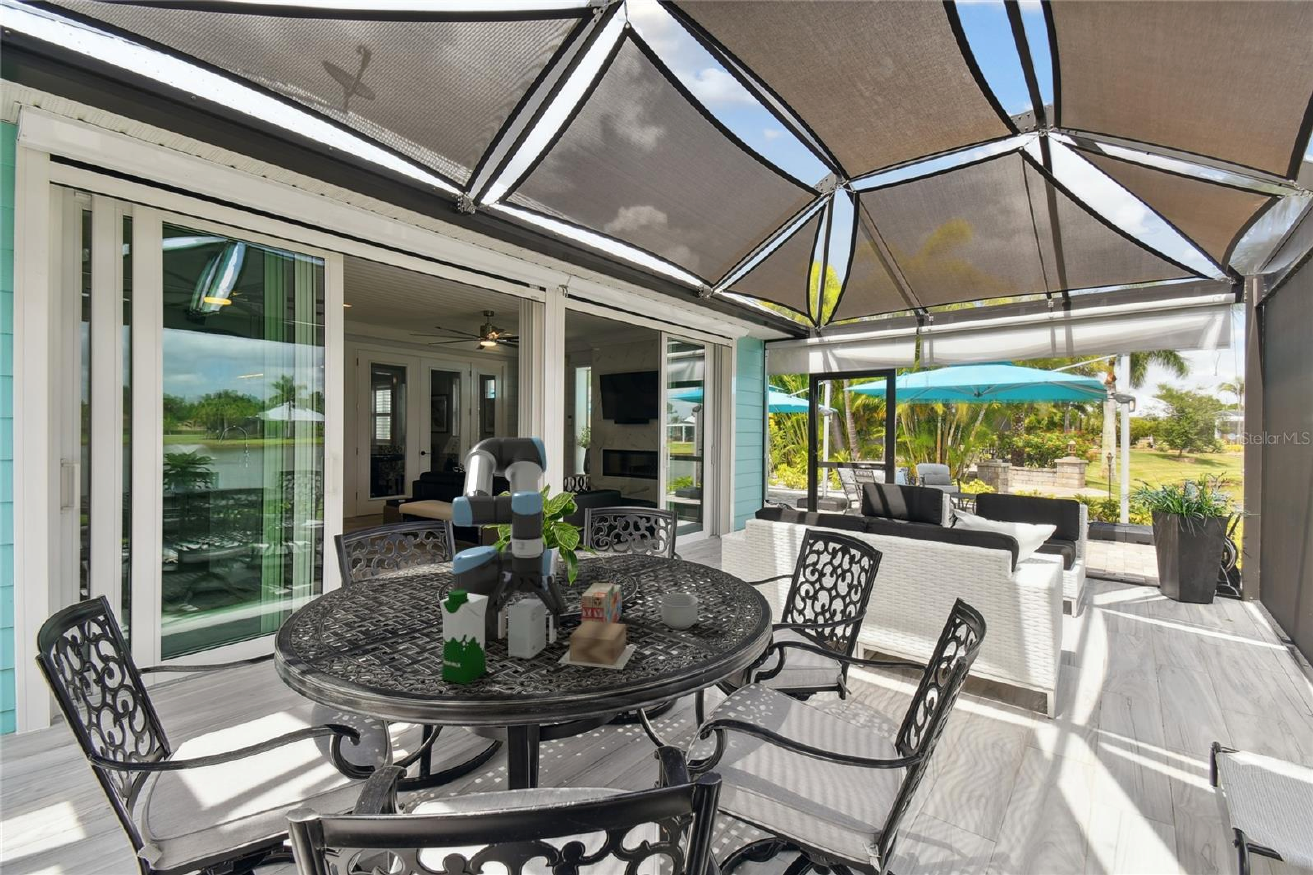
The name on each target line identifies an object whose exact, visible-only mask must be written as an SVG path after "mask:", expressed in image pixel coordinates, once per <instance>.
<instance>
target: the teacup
mask: <svg viewBox="0 0 1313 875" xmlns="http://www.w3.org/2000/svg"><path fill="white" fill-rule="evenodd" d="M658 600H659V601H660V606H659V604H658ZM652 605H653V607H654V609H655V610H656V611H657V612H658V613H659V614H660V615H661V620H662V622H663V623H664V625H666V626H667V627H668V628H670V629H672V630H674V631H675V630H677V631H682V630H683V631H684V630H688V629H689V628H691V627H692V626H693V625H694V624H696V622H697V619H698V614H699V613H698V610H699V609H698V607H699V599H698V597H696V595H693V594H690V593H682V592H680V593H679V592H677V593H676V592H675V593H669V594H666V595H664V596H661V595H656V596H655V597H654V598H653V599H652Z"/></svg>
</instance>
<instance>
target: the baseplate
mask: <svg viewBox="0 0 1313 875" xmlns="http://www.w3.org/2000/svg"><path fill="white" fill-rule="evenodd" d="M637 647H638V646H637V645H635V644H633V643H631V644H629V645H627V644H626V648H625V650H624V651H623V653H622V654H621V656H620V657H619V659H618V660H617V662H616V663H615V664H614V665H604V664H594V663H584V662H574V661H570V649H568V651H567V652H565V654H564V655H563V656H561V657H560V659H559V660H558V662H557V664H566V665H575V666H587V667H595V668H596V667H597V668H604V669H614V670H615V669H616V670H623V669H624V668H625V667H626V664H627V663H628V661H629V660H630V658H631V656H632V655H633V654H634V652H635V651H636V649H637Z"/></svg>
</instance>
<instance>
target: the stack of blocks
mask: <svg viewBox="0 0 1313 875" xmlns="http://www.w3.org/2000/svg"><path fill="white" fill-rule="evenodd" d="M622 598H623V596H622V585H621V584H614V583H609V582H607V583H605V582H593V583H592V584H591V586H590V587H589V588H587V590H586V591H584V592H583V593H582V594H581V612H580V613H581V614H580V615H581V624H582V623H583V622H584V621H593V622H605V623H616V624H617V622H618V621H619V619H620V618H621V616H622V611H623V610H622V608H623V606H622V605H623V602H622V601H623V600H622Z"/></svg>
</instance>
